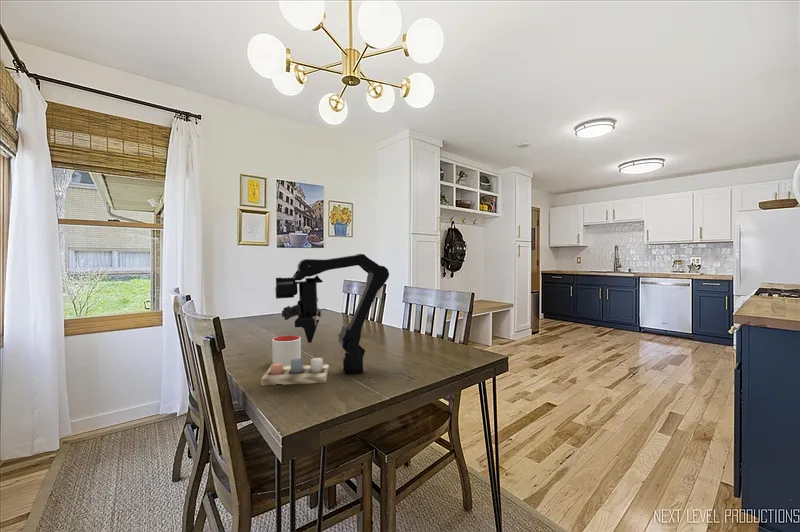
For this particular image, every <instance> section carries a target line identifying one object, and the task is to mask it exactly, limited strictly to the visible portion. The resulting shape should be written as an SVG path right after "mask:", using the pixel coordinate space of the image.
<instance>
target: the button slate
mask: <svg viewBox="0 0 800 532" xmlns="http://www.w3.org/2000/svg"><path fill="white" fill-rule="evenodd" d="M303 366H304V359H303V358H301V359H300V358H297V359H292V360H291V373H292V374H300V373H302V372H303Z"/></svg>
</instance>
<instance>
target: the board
mask: <svg viewBox="0 0 800 532" xmlns="http://www.w3.org/2000/svg"><path fill="white" fill-rule="evenodd" d="M329 371H330V366H329V364H323V371H322V372H321V373H311V364H310V365H308V364H307V365H303V372H302V373H300V374H292V373H291V366H283V375H270V367H269V368H268V369H267V370H266V372H265V373H264V375H263V376H262V377H261V378H260V386H277V385H276V384H282V385H301V384H302V385H304V384H305V385H306V384H324V383H325V384H326V383H327V378H328V376H329V375H328V374H329Z"/></svg>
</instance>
